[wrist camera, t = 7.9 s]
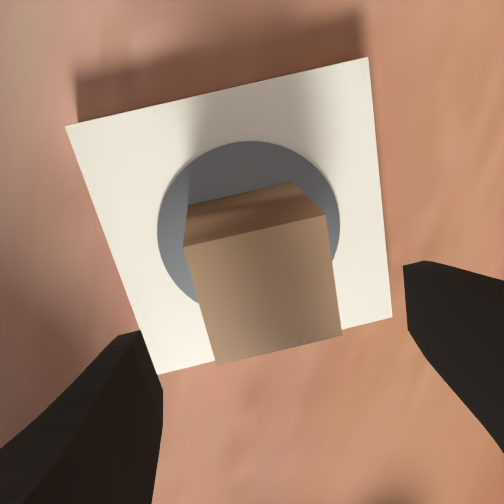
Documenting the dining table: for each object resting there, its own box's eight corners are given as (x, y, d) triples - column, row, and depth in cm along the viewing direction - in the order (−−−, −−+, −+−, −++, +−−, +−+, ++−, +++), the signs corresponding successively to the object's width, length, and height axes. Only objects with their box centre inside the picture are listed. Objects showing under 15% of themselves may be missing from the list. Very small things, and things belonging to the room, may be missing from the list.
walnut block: (213, 298, 19) (216, 365, 14) (187, 204, 17) (182, 247, 13) (308, 275, 19) (342, 335, 15) (292, 181, 17) (325, 214, 13)
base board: (160, 353, 22) (156, 377, 20) (77, 122, 18) (62, 126, 16) (378, 300, 22) (393, 319, 21) (352, 59, 18) (370, 56, 16)
